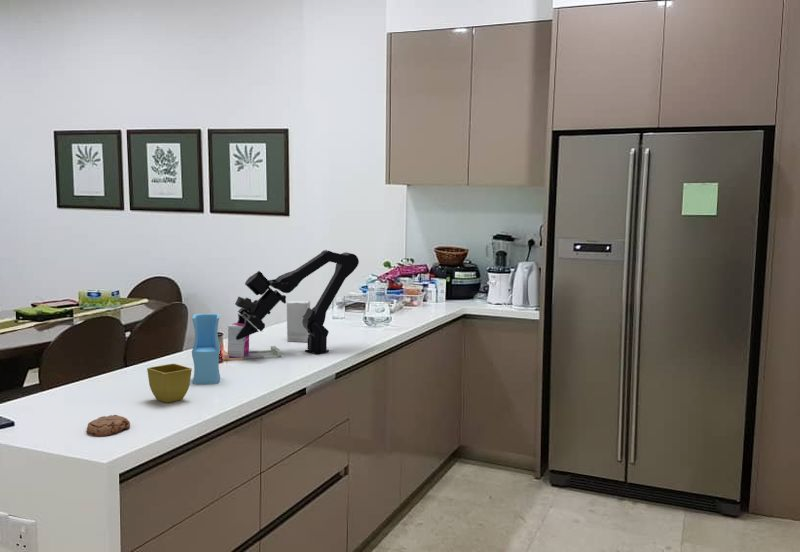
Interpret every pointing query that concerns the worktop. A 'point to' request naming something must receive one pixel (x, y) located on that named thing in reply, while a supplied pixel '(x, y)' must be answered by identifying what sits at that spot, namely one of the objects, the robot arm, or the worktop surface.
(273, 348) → the breaker track
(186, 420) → the worktop surface
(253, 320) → the robot arm
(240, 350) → the supplement box
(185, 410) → the worktop surface
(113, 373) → the worktop surface
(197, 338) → the light blue tall piece
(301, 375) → the worktop surface
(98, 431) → the cookie
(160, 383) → the flower pot
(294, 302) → the skincare box
